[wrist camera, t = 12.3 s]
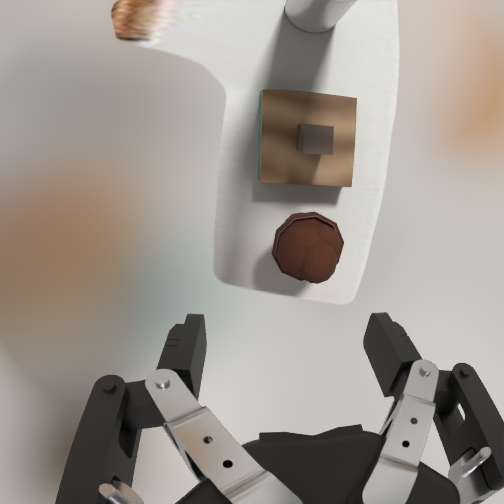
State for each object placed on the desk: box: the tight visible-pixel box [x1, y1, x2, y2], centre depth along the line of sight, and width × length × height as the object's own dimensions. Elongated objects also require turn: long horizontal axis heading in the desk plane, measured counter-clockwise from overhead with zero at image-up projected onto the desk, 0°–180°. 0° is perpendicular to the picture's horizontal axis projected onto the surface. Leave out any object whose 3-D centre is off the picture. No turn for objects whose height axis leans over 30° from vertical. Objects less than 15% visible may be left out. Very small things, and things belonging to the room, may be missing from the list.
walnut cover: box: [260, 89, 357, 187], centre depth 40 cm, size 15×15×10 cm
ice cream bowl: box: [272, 212, 344, 284], centre depth 44 cm, size 11×11×15 cm
